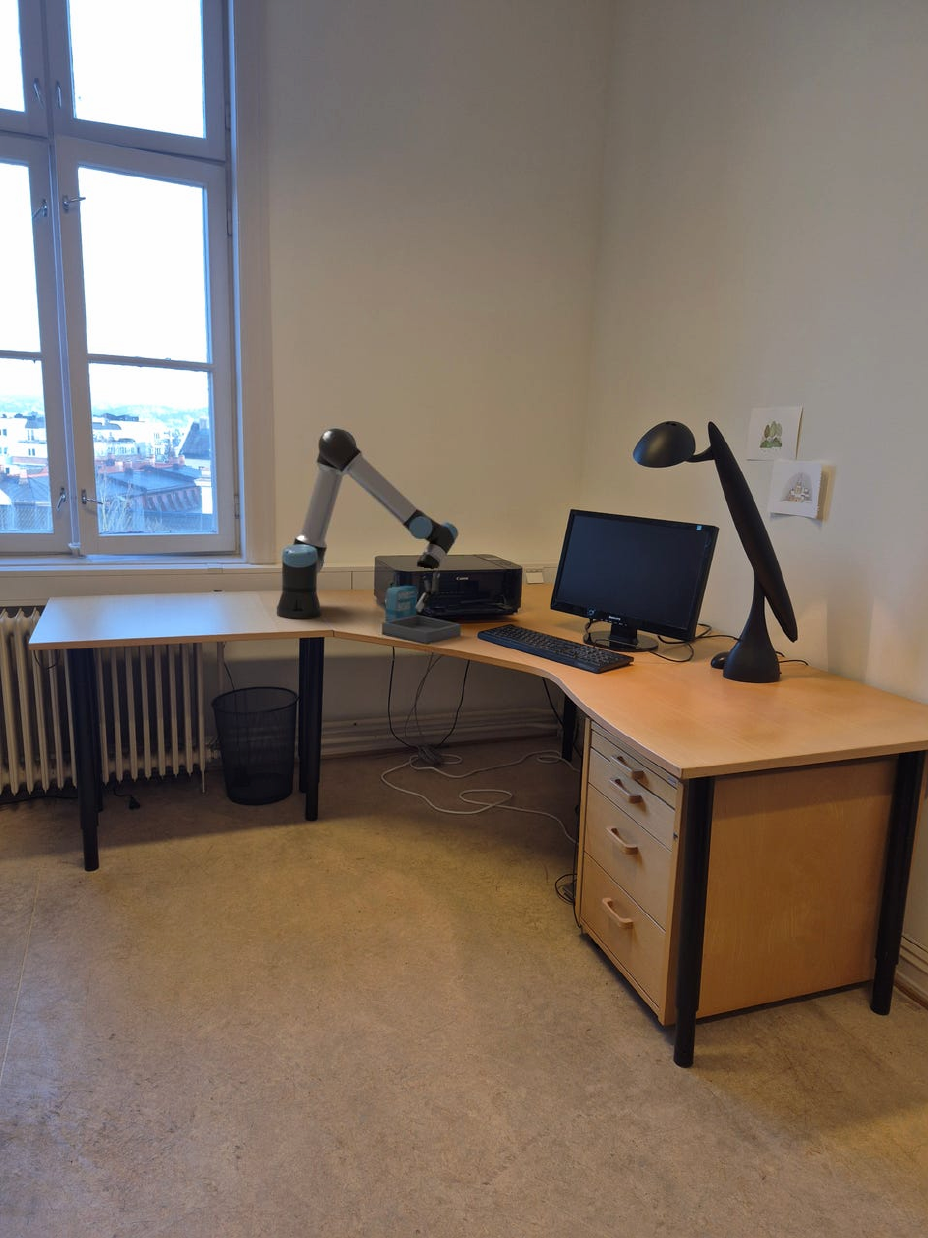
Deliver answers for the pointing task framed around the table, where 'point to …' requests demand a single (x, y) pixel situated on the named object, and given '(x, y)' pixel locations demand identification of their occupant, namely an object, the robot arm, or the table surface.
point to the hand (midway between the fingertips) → (401, 606)
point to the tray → (421, 629)
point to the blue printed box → (401, 602)
